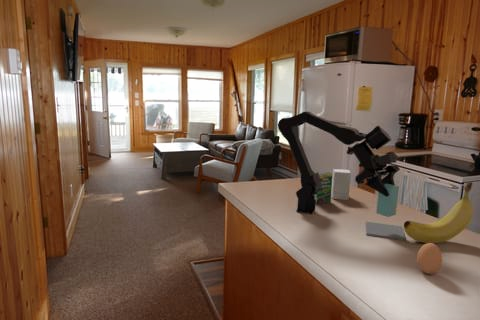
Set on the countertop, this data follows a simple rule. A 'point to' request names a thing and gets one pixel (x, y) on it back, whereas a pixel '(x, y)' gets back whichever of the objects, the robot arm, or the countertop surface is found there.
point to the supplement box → (341, 184)
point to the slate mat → (385, 230)
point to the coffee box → (324, 189)
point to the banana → (443, 223)
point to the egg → (429, 258)
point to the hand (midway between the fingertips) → (391, 194)
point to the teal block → (388, 201)
